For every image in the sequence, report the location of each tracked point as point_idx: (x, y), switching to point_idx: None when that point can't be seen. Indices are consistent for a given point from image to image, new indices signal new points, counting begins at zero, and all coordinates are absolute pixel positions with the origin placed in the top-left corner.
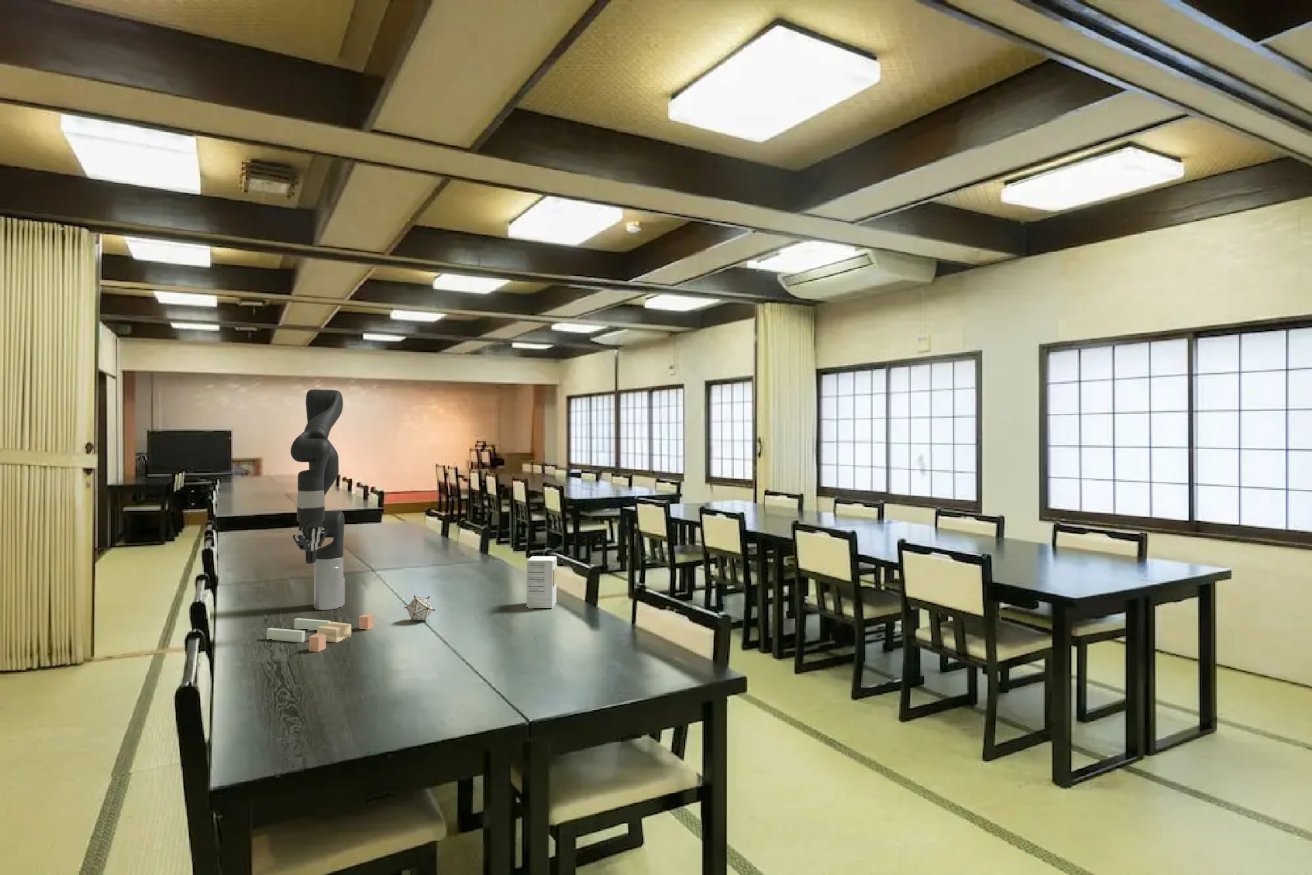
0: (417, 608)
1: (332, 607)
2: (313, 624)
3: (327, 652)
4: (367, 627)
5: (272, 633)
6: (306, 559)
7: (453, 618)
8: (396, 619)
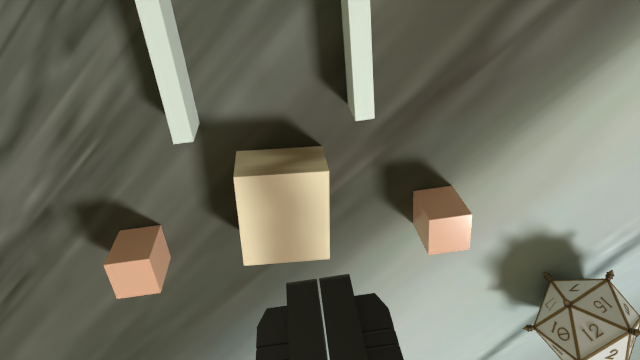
0: (554, 345)
1: None
2: (347, 30)
3: None
4: (415, 228)
5: None
6: (260, 342)
7: None
8: (573, 213)
